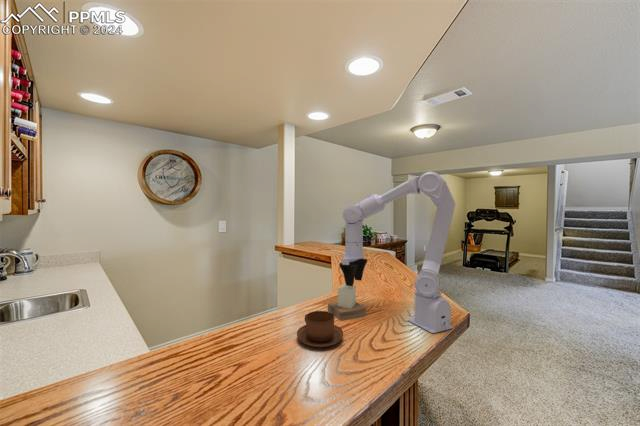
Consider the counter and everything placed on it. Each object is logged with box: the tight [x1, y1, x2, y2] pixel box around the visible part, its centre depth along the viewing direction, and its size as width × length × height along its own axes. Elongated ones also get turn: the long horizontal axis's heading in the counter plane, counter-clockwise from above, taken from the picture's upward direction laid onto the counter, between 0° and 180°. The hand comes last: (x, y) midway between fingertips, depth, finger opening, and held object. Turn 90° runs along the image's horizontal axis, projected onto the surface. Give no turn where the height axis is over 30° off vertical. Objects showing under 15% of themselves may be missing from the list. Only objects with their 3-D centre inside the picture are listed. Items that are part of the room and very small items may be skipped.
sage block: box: [337, 283, 357, 309], centre depth 86 cm, size 4×4×6 cm
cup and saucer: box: [296, 310, 344, 348], centre depth 69 cm, size 12×12×6 cm
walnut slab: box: [327, 301, 367, 322], centre depth 86 cm, size 9×9×3 cm
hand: (354, 282), depth 88 cm, fingers open, 7 cm apart
